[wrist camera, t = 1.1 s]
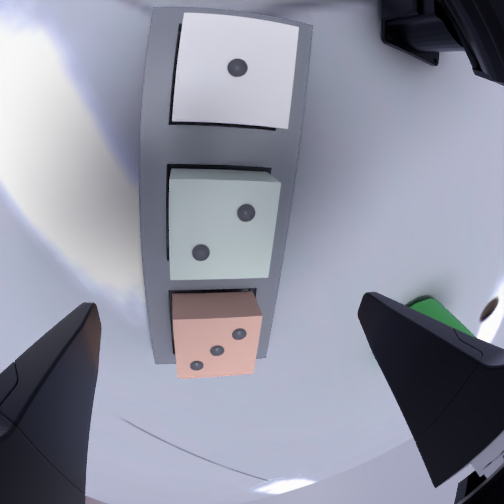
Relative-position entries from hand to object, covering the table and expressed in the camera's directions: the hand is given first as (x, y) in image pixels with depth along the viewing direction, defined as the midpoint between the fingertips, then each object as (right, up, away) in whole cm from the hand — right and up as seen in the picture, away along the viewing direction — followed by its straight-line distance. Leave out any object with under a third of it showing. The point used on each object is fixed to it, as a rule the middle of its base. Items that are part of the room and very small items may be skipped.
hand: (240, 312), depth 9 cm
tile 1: (-1, +12, +6) cm, 14 cm away
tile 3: (-3, -4, +14) cm, 15 cm away
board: (-2, +5, +12) cm, 13 cm away
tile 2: (-2, +4, +10) cm, 11 cm away
